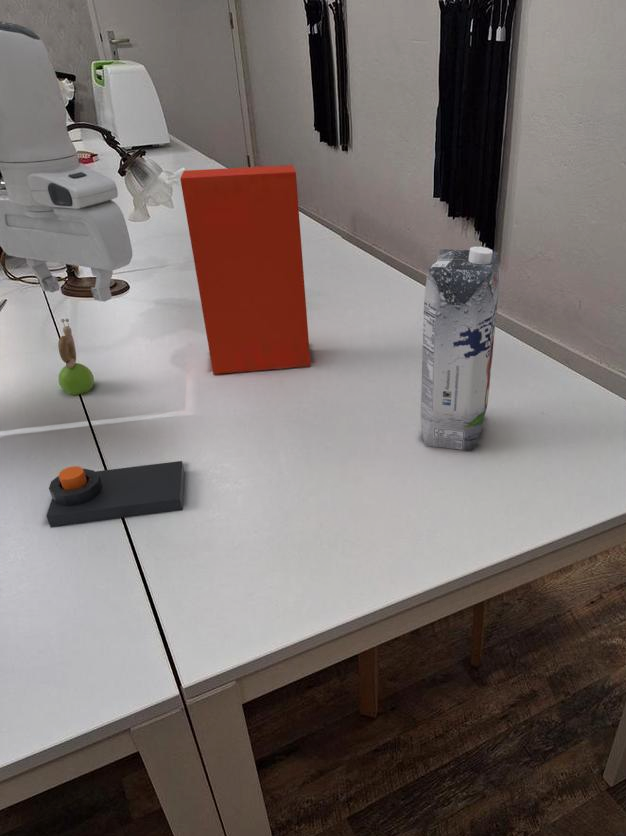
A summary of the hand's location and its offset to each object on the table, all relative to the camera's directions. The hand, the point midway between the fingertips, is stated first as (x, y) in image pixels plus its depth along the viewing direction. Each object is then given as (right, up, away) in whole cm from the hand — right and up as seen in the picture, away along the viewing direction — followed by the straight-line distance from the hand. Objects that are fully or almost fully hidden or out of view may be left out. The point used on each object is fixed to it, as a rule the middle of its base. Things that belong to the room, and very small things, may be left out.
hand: (77, 295), depth 87 cm
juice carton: (+52, -18, +10) cm, 56 cm away
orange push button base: (+7, -27, -2) cm, 28 cm away
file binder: (+20, -3, +33) cm, 38 cm away
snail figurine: (-10, -10, +24) cm, 28 cm away
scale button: (+2, -25, -4) cm, 26 cm away
